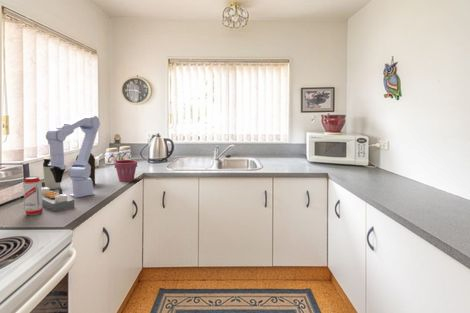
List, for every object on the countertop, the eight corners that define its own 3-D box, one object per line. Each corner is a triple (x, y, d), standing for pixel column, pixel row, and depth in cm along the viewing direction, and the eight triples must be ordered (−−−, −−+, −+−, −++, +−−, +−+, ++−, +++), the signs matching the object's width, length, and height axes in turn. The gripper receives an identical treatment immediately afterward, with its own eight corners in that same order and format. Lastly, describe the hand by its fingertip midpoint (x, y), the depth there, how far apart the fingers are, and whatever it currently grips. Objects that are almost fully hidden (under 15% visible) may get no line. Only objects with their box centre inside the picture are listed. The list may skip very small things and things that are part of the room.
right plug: (64, 199, 142) (63, 186, 141) (67, 200, 140) (66, 188, 139) (54, 200, 139) (54, 188, 138) (58, 202, 137) (57, 189, 136)
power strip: (51, 197, 158) (51, 190, 157) (74, 207, 142) (74, 199, 141) (32, 200, 151) (31, 194, 150) (53, 211, 135) (53, 204, 134)
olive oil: (100, 183, 190) (98, 144, 186) (86, 187, 180) (84, 145, 176) (87, 182, 193) (85, 143, 190) (73, 185, 183) (70, 144, 180)
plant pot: (130, 183, 192) (130, 163, 191) (110, 182, 195) (109, 162, 193) (141, 178, 206) (141, 160, 205) (122, 177, 209) (121, 159, 207)
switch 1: (52, 194, 150) (51, 191, 150) (54, 193, 148) (53, 191, 148) (44, 195, 147) (43, 193, 147) (46, 195, 146) (45, 192, 146)
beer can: (32, 211, 135) (29, 176, 133) (46, 211, 135) (43, 176, 133) (22, 215, 129) (19, 179, 127) (36, 216, 129) (33, 179, 126)
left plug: (46, 191, 154) (46, 180, 154) (49, 193, 152) (49, 181, 151) (38, 193, 151) (37, 181, 150) (40, 194, 149) (40, 183, 148)
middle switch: (55, 195, 148) (54, 192, 148) (57, 195, 146) (56, 192, 146) (47, 196, 145) (46, 194, 145) (48, 196, 143) (48, 194, 143)
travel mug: (55, 189, 173) (53, 158, 171) (41, 189, 173) (39, 158, 171) (63, 186, 181) (61, 156, 178) (50, 186, 181) (48, 156, 179)
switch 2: (58, 196, 146) (57, 194, 146) (60, 196, 144) (59, 194, 144) (50, 198, 143) (49, 195, 143) (52, 198, 141) (51, 195, 141)
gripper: (41, 153, 146) (43, 181, 147) (54, 156, 137) (55, 185, 139) (57, 152, 151) (58, 179, 153) (70, 155, 142) (71, 183, 144)
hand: (58, 182), depth 146 cm, fingers closed
